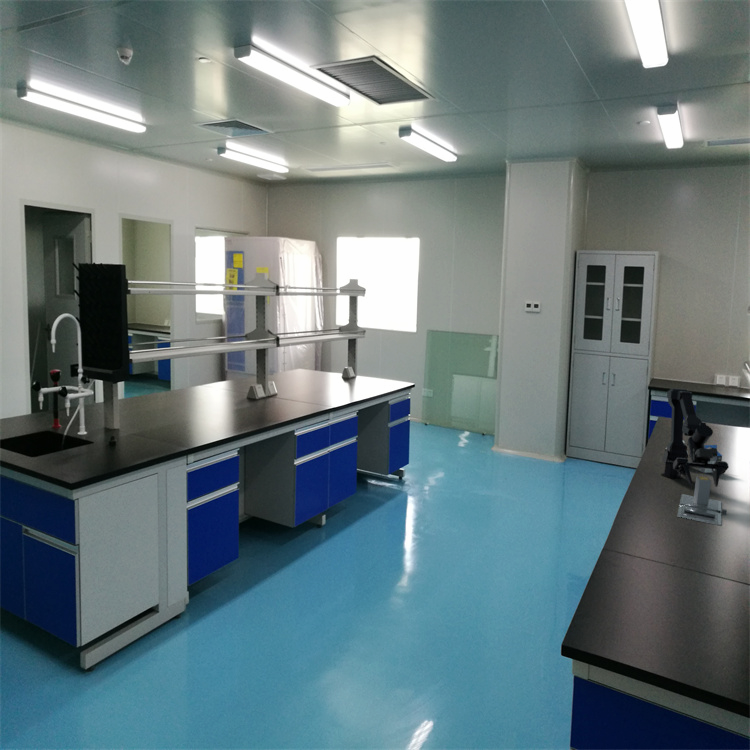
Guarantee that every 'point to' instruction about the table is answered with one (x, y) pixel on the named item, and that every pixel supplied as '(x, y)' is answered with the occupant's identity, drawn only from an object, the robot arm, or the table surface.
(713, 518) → the case
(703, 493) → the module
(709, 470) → the label tape cartridge
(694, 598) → the table surface
